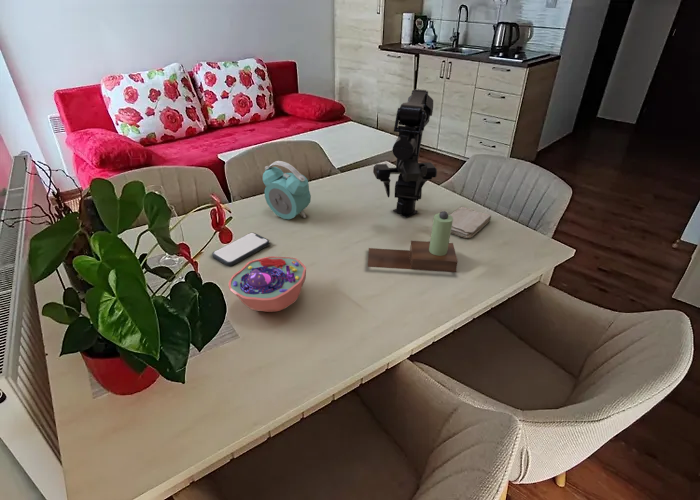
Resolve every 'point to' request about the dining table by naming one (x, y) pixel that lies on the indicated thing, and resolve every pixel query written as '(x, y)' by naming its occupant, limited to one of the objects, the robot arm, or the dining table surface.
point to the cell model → (269, 283)
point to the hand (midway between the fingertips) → (402, 196)
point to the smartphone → (240, 249)
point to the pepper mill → (440, 233)
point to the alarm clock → (286, 191)
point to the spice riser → (413, 258)
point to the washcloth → (468, 222)
